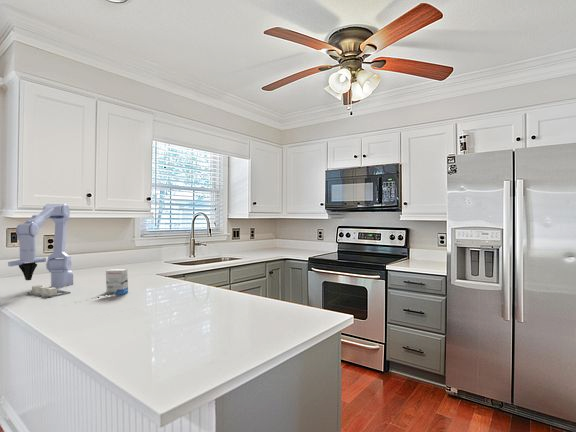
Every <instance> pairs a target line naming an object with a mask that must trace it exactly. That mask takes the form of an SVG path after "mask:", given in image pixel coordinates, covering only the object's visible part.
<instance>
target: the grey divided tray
mask: <svg viewBox="0 0 576 432" xmlns="http://www.w3.org/2000/svg"><path fill="white" fill-rule="evenodd" d="M69 294H71V291H69V290H68V291H67V290H62V289H57V294H56V295H52V296H46V294H44V295H40V294H39V293H32V291H29V292H27V295H31V296H36V297H40V298H45V299H49V298H51V299H52V298H54V297H60V296H65V295H69Z"/></svg>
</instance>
